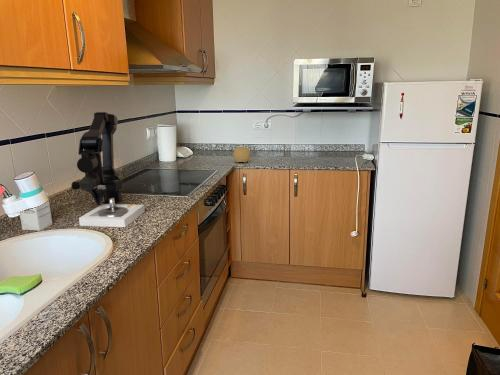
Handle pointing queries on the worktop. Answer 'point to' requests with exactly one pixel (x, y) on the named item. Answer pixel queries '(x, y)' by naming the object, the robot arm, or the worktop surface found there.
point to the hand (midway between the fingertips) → (99, 205)
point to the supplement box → (37, 217)
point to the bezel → (123, 221)
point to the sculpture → (241, 154)
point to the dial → (113, 210)
